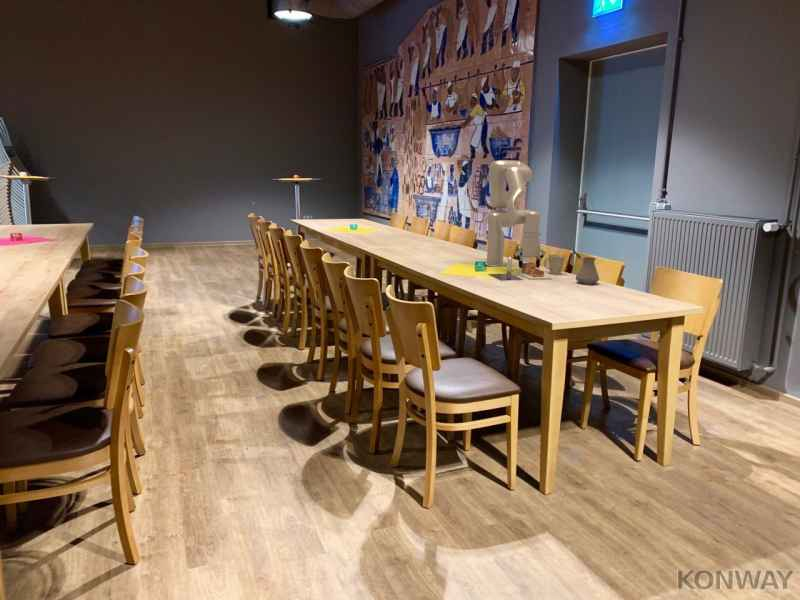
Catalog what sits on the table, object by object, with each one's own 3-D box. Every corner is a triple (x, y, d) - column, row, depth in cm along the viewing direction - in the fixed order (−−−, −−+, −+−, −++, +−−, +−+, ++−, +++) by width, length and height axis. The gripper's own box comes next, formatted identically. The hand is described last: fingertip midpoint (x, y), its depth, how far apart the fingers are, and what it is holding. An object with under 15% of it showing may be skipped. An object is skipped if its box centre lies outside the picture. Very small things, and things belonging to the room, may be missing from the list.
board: (513, 274, 334) (513, 271, 333) (533, 274, 337) (533, 270, 336) (529, 282, 315) (530, 278, 314) (551, 281, 318) (551, 277, 317)
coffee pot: (603, 285, 311) (606, 255, 308) (583, 285, 308) (586, 255, 305) (579, 277, 331) (582, 249, 328) (560, 277, 328) (562, 249, 325)
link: (521, 272, 331) (522, 262, 330) (531, 271, 332) (531, 262, 331) (533, 277, 317) (534, 267, 316) (543, 276, 319) (544, 267, 318)
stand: (486, 276, 329) (488, 253, 326) (509, 275, 332) (511, 253, 329) (500, 282, 312) (501, 258, 309) (524, 281, 315) (525, 258, 312)
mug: (556, 275, 334) (558, 257, 332) (538, 272, 344) (539, 254, 341) (566, 274, 339) (567, 256, 337) (547, 270, 349) (548, 253, 347)
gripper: (542, 234, 330) (540, 266, 334) (512, 234, 326) (510, 266, 330) (549, 236, 323) (547, 268, 327) (519, 236, 319) (516, 269, 323)
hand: (529, 267), depth 328 cm, fingers open, 9 cm apart
